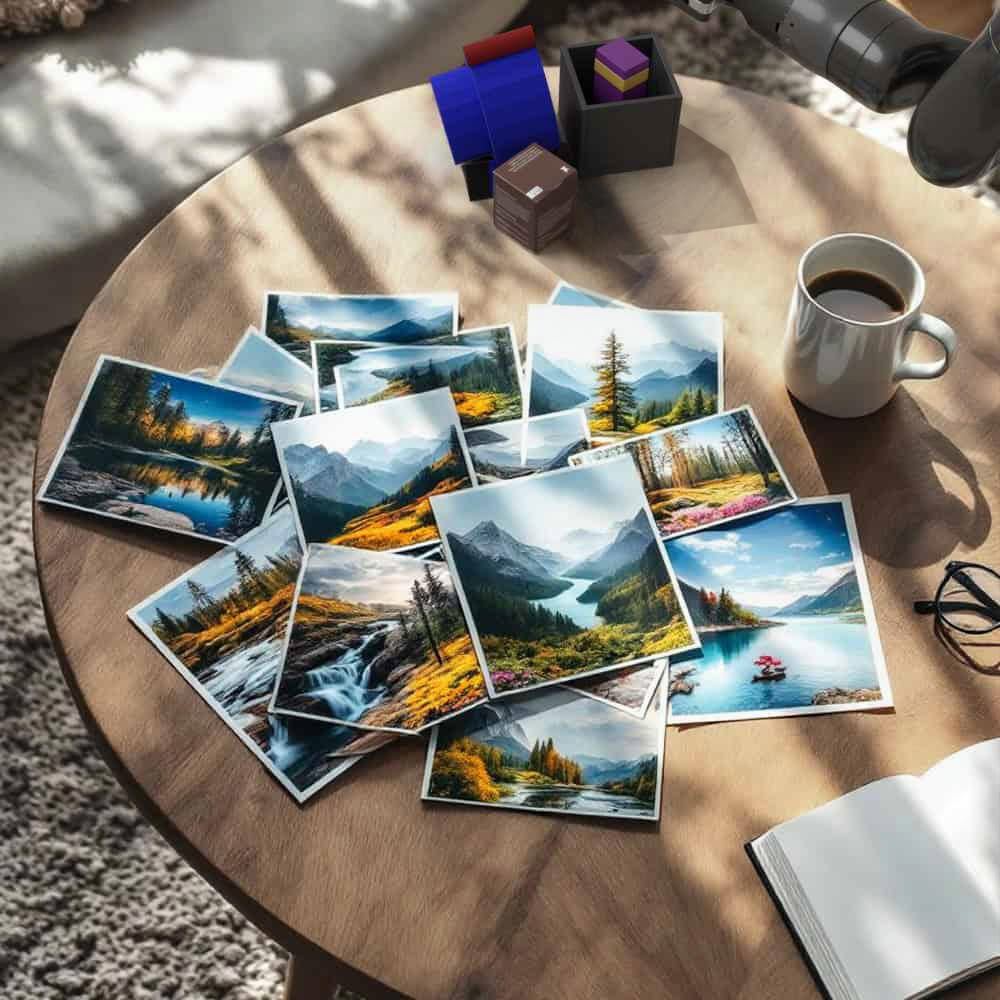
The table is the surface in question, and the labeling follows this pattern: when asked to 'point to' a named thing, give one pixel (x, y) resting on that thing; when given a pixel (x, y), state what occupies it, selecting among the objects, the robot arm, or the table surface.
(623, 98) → the perfume bottle
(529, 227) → the box
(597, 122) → the bin
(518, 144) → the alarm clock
